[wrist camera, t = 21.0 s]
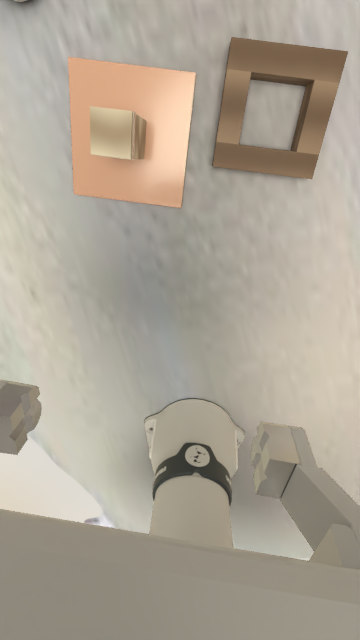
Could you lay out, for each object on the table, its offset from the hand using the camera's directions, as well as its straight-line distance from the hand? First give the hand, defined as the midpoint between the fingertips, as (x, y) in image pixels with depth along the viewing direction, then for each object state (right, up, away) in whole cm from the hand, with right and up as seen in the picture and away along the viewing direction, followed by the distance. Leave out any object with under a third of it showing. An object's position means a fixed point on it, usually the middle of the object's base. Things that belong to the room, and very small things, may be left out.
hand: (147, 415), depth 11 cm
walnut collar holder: (+12, +27, +25) cm, 38 cm away
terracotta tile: (-5, +25, +27) cm, 37 cm away
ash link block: (-5, +25, +26) cm, 36 cm away
